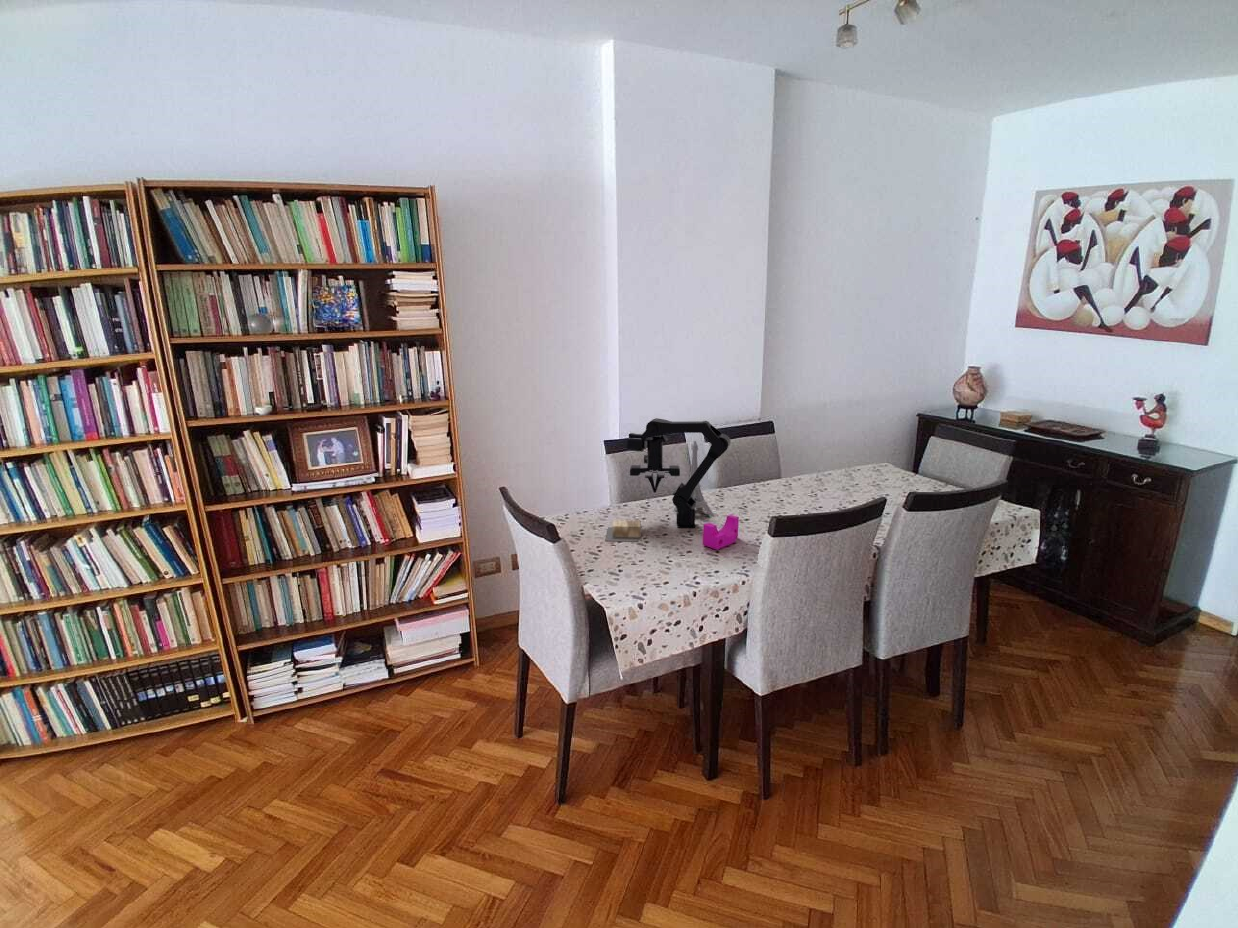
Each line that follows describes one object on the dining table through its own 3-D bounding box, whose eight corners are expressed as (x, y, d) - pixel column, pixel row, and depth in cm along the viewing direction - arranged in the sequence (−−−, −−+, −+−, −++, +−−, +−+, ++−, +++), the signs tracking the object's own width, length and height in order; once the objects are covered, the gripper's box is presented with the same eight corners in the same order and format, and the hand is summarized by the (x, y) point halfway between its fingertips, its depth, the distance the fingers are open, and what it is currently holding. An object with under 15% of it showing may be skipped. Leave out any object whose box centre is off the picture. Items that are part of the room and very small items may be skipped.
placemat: (639, 528, 240) (639, 527, 240) (638, 541, 226) (638, 541, 226) (608, 527, 240) (608, 527, 240) (604, 541, 227) (604, 540, 227)
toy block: (716, 549, 219) (717, 528, 217) (702, 544, 223) (703, 524, 222) (743, 538, 229) (744, 518, 227) (729, 534, 233) (730, 514, 231)
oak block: (641, 521, 235) (613, 520, 235) (640, 526, 229) (612, 526, 230) (641, 531, 236) (614, 530, 236) (640, 537, 230) (612, 536, 230)
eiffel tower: (701, 507, 263) (703, 436, 256) (716, 517, 251) (718, 443, 243) (671, 511, 259) (672, 438, 252) (685, 521, 247) (686, 445, 239)
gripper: (679, 447, 246) (678, 486, 250) (631, 447, 247) (631, 486, 251) (680, 454, 235) (679, 494, 239) (629, 454, 237) (629, 494, 241)
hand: (654, 492), depth 243 cm, fingers closed
